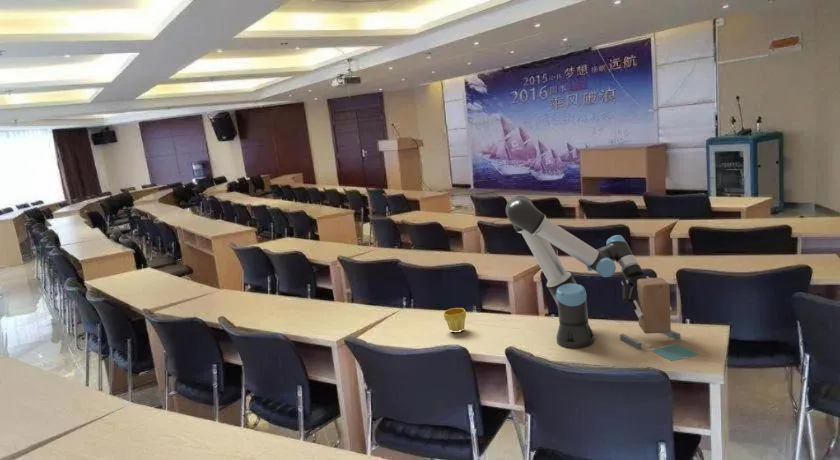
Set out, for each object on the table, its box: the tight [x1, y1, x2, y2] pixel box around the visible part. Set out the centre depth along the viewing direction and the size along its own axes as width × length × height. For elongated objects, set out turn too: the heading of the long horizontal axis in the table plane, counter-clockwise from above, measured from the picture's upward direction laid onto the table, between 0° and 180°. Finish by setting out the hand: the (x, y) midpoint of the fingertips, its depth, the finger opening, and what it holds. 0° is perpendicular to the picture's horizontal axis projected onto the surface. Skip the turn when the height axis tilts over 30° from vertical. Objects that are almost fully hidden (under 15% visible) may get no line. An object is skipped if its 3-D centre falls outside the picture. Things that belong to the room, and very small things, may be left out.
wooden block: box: [636, 277, 672, 335], centre depth 218 cm, size 10×10×20 cm
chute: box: [619, 329, 682, 351], centre depth 222 cm, size 12×19×2 cm, turn 104°
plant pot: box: [443, 307, 467, 331], centre depth 261 cm, size 10×10×10 cm
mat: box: [650, 343, 700, 362], centre depth 208 cm, size 12×12×1 cm
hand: (655, 313), depth 218 cm, fingers closed on wooden block, 12 cm apart
